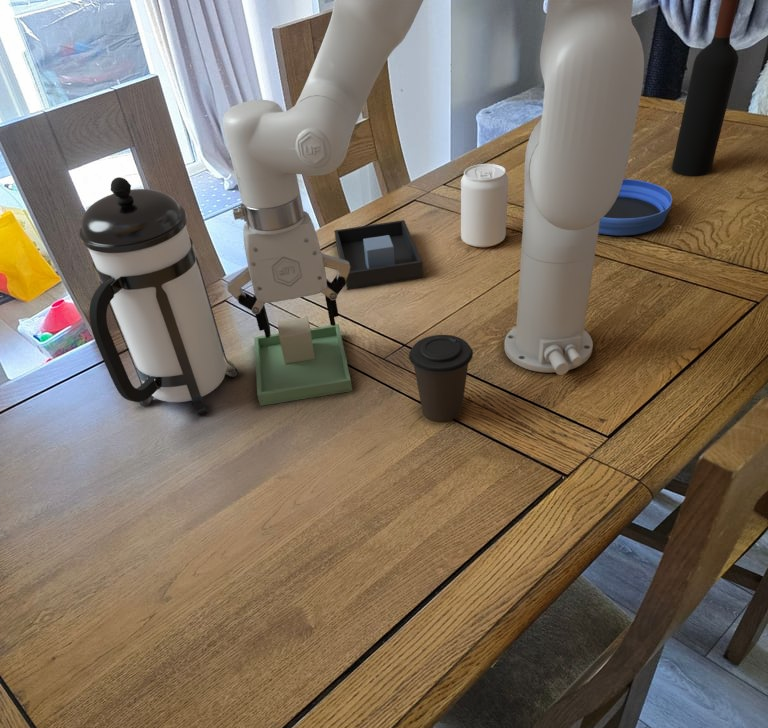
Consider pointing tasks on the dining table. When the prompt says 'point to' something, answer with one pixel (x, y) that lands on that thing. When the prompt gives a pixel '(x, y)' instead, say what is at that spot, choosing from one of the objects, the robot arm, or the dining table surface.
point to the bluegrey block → (378, 251)
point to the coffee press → (152, 297)
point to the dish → (301, 368)
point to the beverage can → (484, 205)
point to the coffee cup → (441, 375)
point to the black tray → (404, 268)
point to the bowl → (636, 209)
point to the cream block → (296, 340)
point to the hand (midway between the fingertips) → (300, 327)
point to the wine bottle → (707, 98)
